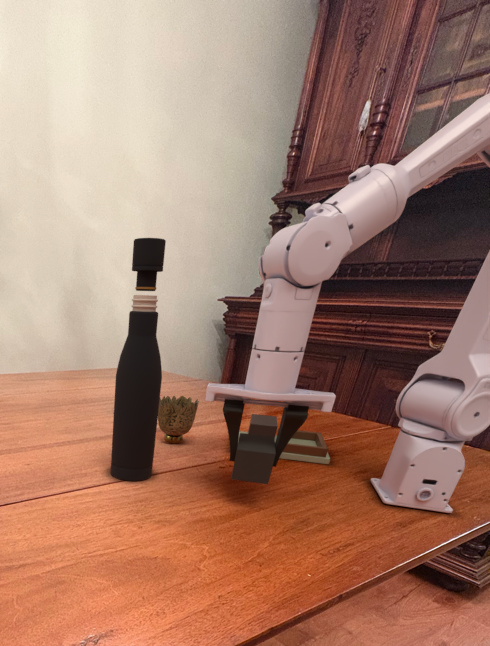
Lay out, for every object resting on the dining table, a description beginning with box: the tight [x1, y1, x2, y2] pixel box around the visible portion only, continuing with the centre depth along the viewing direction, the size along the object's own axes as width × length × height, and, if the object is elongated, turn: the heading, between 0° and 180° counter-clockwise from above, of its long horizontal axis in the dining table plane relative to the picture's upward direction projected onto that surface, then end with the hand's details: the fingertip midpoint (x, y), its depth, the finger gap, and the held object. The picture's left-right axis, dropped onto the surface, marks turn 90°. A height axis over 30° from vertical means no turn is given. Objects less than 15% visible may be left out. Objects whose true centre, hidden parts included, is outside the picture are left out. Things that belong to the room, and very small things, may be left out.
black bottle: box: [110, 237, 167, 482], centre depth 59 cm, size 6×6×30 cm
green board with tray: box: [238, 413, 331, 465], centre depth 78 cm, size 12×16×5 cm
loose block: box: [230, 433, 276, 485], centre depth 56 cm, size 8×4×4 cm, turn 160°
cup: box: [157, 395, 200, 445], centre depth 80 cm, size 8×7×8 cm
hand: (252, 461), depth 56 cm, fingers closed on loose block, 4 cm apart
